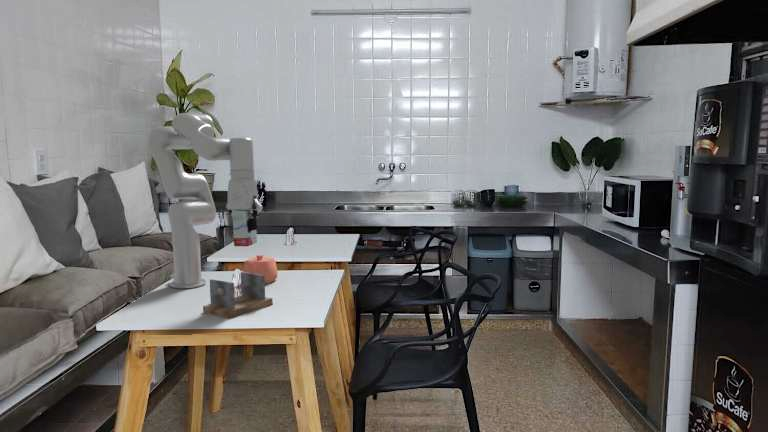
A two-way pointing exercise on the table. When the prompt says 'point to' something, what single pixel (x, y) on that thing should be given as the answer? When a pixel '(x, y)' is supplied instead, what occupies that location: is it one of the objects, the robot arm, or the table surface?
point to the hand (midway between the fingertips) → (244, 229)
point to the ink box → (242, 229)
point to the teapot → (262, 267)
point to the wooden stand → (235, 306)
